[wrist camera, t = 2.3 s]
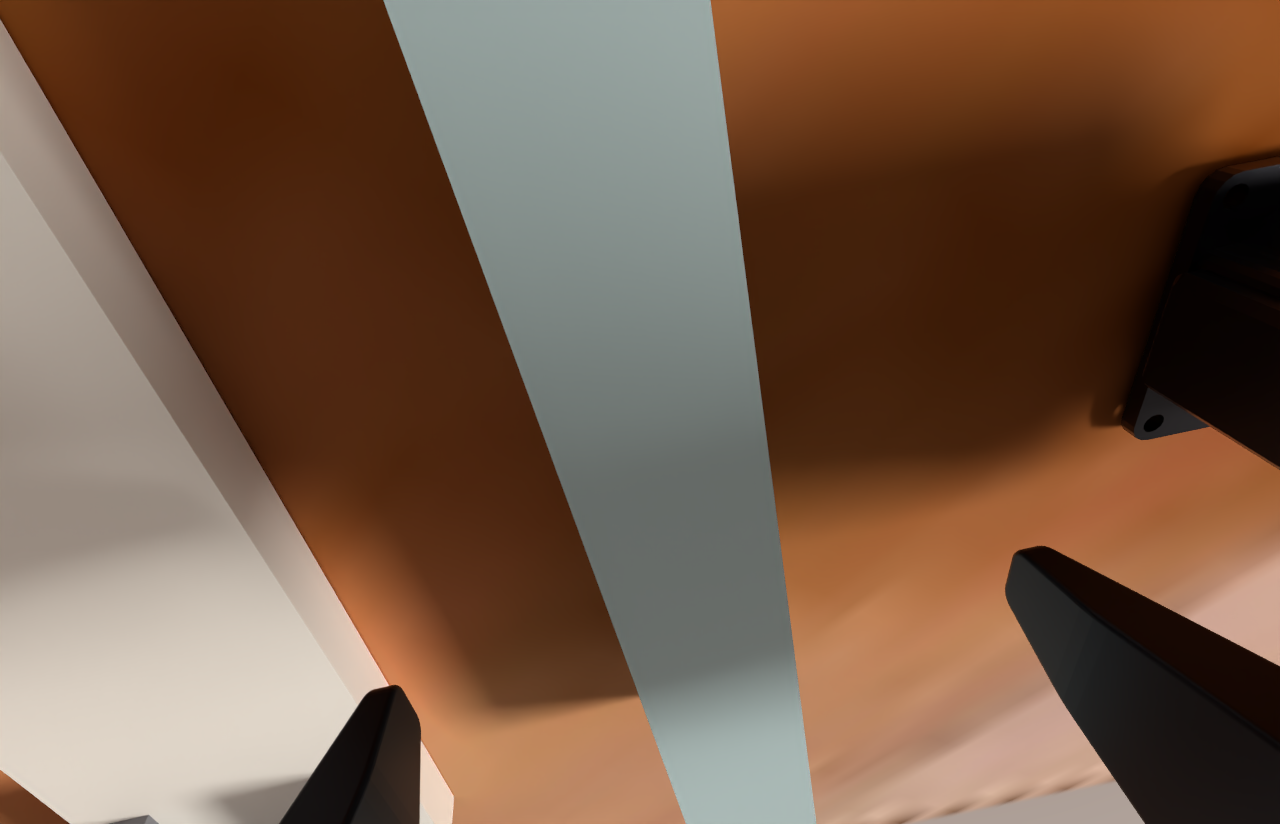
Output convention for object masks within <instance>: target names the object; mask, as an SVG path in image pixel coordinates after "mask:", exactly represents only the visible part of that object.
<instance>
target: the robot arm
mask: <svg viewBox="0 0 1280 824" xmlns="http://www.w3.org/2000/svg"><path fill="white" fill-rule="evenodd" d="M1228 191H1229V192H1228ZM1227 192H1228V193H1227ZM1226 194H1227V195H1226ZM1225 196H1226V197H1225ZM1121 425H1122V427H1123V429H1124V430H1126V431H1127V432H1129V433H1130V434H1131V435H1133V436H1134V437H1136V438H1138V439H1140V440H1149V439H1154V438H1158V437H1163V436H1168V435H1172V434H1177V433H1182V432H1187V431H1191V430H1196V429H1201V428H1206V427H1212V428H1213V429H1215V430H1217V431H1218V432H1220V433H1221V434H1223V435H1225V436H1226V437H1228V438H1229V439H1231V440H1233V441H1234V442H1236V443H1237V444H1239V445H1241V446H1242V447H1244V448H1245V449H1247V450H1249V451H1250V452H1252V453H1253V454H1255V455H1257V456H1258V457H1260V458H1261V459H1263V460H1265V461H1266V462H1268V463H1269V464H1271V465H1273V466H1274V467H1276V468H1277V469H1279V470H1280V156H1279V157H1273V158H1268V159H1263V160H1258V161H1252V162H1247V163H1242V164H1237V165H1231V166H1226V167H1224V168H1221V169H1218V170H1216V171H1215V172H1214V173H1212V174H1211V175H1210V176H1208V177H1207V178H1206V179H1205V181H1204V182H1203V183H1202V184H1201V185H1200V187H1199V189H1198V191H1197V193H1196V195H1195V197H1194V200H1193V203H1192V206H1191V209H1190V212H1189V215H1188V218H1187V221H1186V225H1185V228H1184V231H1183V234H1182V237H1181V240H1180V243H1179V246H1178V249H1177V252H1176V255H1175V258H1174V261H1173V264H1172V267H1171V270H1170V273H1169V276H1168V279H1167V282H1166V286H1165V289H1164V292H1163V295H1162V298H1161V301H1160V304H1159V307H1158V310H1157V313H1156V316H1155V319H1154V322H1153V325H1152V328H1151V331H1150V334H1149V337H1148V340H1147V343H1146V346H1145V350H1144V353H1143V356H1142V359H1141V362H1140V365H1139V368H1138V371H1137V374H1136V377H1135V380H1134V383H1133V386H1132V389H1131V392H1130V395H1129V398H1128V401H1127V404H1126V407H1125V411H1124V414H1123V417H1122V422H1121ZM1005 594H1006V598H1007V601H1008V604H1009V606H1010V608H1011V609H1012V611H1013V613H1014V615H1015V617H1016V619H1017V620H1018V622H1019V624H1020V626H1021V628H1022V630H1023V631H1024V633H1025V635H1026V637H1027V639H1028V641H1029V642H1030V644H1031V646H1032V648H1033V650H1034V652H1035V653H1036V655H1037V657H1038V659H1039V661H1040V663H1041V664H1042V666H1043V668H1044V670H1045V672H1046V674H1047V675H1048V677H1049V679H1050V681H1051V683H1052V685H1053V686H1054V688H1055V690H1056V691H1057V693H1058V695H1059V697H1060V698H1061V700H1062V702H1063V703H1064V705H1065V706H1066V708H1067V709H1068V711H1069V712H1070V714H1071V716H1072V717H1073V719H1074V720H1075V721H1076V723H1077V724H1078V726H1079V727H1080V729H1081V730H1082V732H1083V733H1084V735H1085V736H1086V738H1087V739H1088V741H1089V742H1090V744H1091V745H1092V746H1093V748H1094V749H1095V751H1096V752H1097V754H1098V755H1099V757H1100V758H1101V760H1102V761H1103V763H1104V764H1105V766H1106V767H1107V768H1108V770H1109V771H1110V773H1111V774H1112V776H1113V777H1114V779H1115V780H1116V782H1117V783H1118V785H1119V786H1120V788H1121V789H1122V790H1123V792H1124V793H1125V795H1126V796H1127V798H1128V799H1129V801H1130V802H1131V804H1132V805H1133V807H1134V808H1135V809H1136V811H1137V813H1138V814H1139V815H1140V817H1141V818H1142V820H1143V821H1144V823H1145V824H1280V666H1278V665H1276V664H1274V663H1272V662H1270V661H1268V660H1267V659H1265V658H1263V657H1261V656H1259V655H1257V654H1255V653H1253V652H1251V651H1249V650H1247V649H1245V648H1243V647H1241V646H1239V645H1237V644H1236V643H1234V642H1232V641H1230V640H1228V639H1226V638H1224V637H1222V636H1220V635H1218V634H1216V633H1214V632H1212V631H1210V630H1208V629H1207V628H1205V627H1203V626H1201V625H1199V624H1197V623H1195V622H1193V621H1191V620H1189V619H1187V618H1185V617H1183V616H1181V615H1179V614H1178V613H1176V612H1174V611H1172V610H1170V609H1168V608H1166V607H1164V606H1162V605H1160V604H1158V603H1156V602H1154V601H1152V600H1150V599H1148V598H1147V597H1145V596H1143V595H1141V594H1139V593H1137V592H1135V591H1133V590H1131V589H1129V588H1127V587H1125V586H1123V585H1121V584H1119V583H1118V582H1116V581H1114V580H1112V579H1110V578H1108V577H1106V576H1104V575H1102V574H1100V573H1098V572H1096V571H1094V570H1092V569H1090V568H1089V567H1087V566H1085V565H1083V564H1081V563H1079V562H1077V561H1075V560H1073V559H1071V558H1069V557H1067V556H1065V555H1063V554H1061V553H1060V552H1058V551H1056V550H1054V549H1052V548H1049V547H1046V546H1036V547H1031V548H1027V549H1022V550H1018V551H1017V552H1016V553H1015V554H1014V555H1013V558H1012V562H1011V566H1010V570H1009V574H1008V578H1007V582H1006V586H1005ZM420 765H421V727H420V722H419V718H418V716H417V714H416V712H415V710H414V709H413V707H412V705H411V703H410V702H409V700H408V698H407V696H406V695H405V693H404V691H403V690H402V688H401V687H399V686H398V685H391V686H386V687H382V688H377V689H373V690H371V691H369V692H368V693H367V694H366V695H365V696H364V697H363V699H362V700H361V702H360V703H359V704H358V706H357V707H356V709H355V710H354V712H353V713H352V715H351V716H350V718H349V719H348V721H347V722H346V724H345V725H344V727H343V728H342V730H341V731H340V733H339V734H338V736H337V737H336V739H335V740H334V742H333V743H332V745H331V746H330V748H329V749H328V751H327V752H326V754H325V755H324V757H323V758H322V760H321V761H320V763H319V764H318V766H317V767H316V769H315V770H314V772H313V773H312V775H311V776H310V778H309V779H308V780H307V782H306V783H305V785H304V786H303V788H302V789H301V791H300V792H299V794H298V795H297V797H296V798H295V800H294V801H293V803H292V804H291V806H290V807H289V809H288V810H287V812H286V813H285V815H284V816H283V818H282V819H281V821H280V822H279V824H420Z"/></svg>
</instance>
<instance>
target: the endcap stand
mask: <svg viewBox="0 0 1280 824" xmlns="http://www.w3.org/2000/svg"><path fill="white" fill-rule="evenodd" d="M386 686H389V685H388V683H387V681H386V680H385V678H384V676H383V674H382V673H381V671H380V669H379V668H378V666H377V664H376V662H375V661H374V659H373V657H372V656H371V654H370V652H369V650H368V649H367V647H366V645H365V644H364V642H363V640H362V638H361V637H360V635H359V633H358V632H357V630H356V628H355V626H354V625H353V623H352V621H351V620H350V618H349V616H348V614H347V613H346V611H345V609H344V608H343V606H342V604H341V602H340V601H339V599H338V597H337V596H336V594H335V592H334V590H333V589H332V587H331V585H330V584H329V582H328V580H327V578H326V577H325V575H324V573H323V572H322V570H321V568H320V566H319V565H318V563H317V561H316V560H315V558H314V556H313V554H312V553H311V551H310V549H309V548H308V546H307V544H306V542H305V541H304V539H303V537H302V536H301V534H300V532H299V530H298V529H297V527H296V525H295V524H294V522H293V520H292V518H291V517H290V515H289V513H288V512H287V510H286V508H285V506H284V505H283V503H282V501H281V500H280V498H279V496H278V494H277V493H276V491H275V489H274V488H273V486H272V484H271V482H270V481H269V479H268V477H267V476H266V474H265V472H264V470H263V469H262V467H261V465H260V464H259V462H258V460H257V458H256V457H255V455H254V453H253V452H252V450H251V448H250V446H249V445H248V443H247V441H246V440H245V438H244V436H243V434H242V433H241V431H240V429H239V428H238V426H237V424H236V422H235V421H234V419H233V417H232V416H231V414H230V412H229V410H228V409H227V407H226V405H225V404H224V402H223V400H222V398H221V397H220V395H219V393H218V392H217V390H216V388H215V386H214V385H213V383H212V381H211V380H210V378H209V376H208V374H207V373H206V371H205V369H204V368H203V366H202V364H201V362H200V361H199V359H198V357H197V356H196V354H195V352H194V350H193V349H192V347H191V345H190V344H189V342H188V340H187V338H186V337H185V335H184V333H183V332H182V330H181V328H180V326H179V325H178V323H177V321H176V320H175V318H174V316H173V314H172V313H171V311H170V309H169V308H168V306H167V304H166V302H165V301H164V299H163V297H162V296H161V294H160V292H159V290H158V289H157V287H156V285H155V284H154V282H153V280H152V278H151V277H150V275H149V273H148V272H147V270H146V268H145V266H144V265H143V263H142V261H141V260H140V258H139V256H138V254H137V253H136V251H135V249H134V248H133V246H132V244H131V242H130V241H129V239H128V237H127V236H126V234H125V232H124V231H123V229H122V227H121V225H120V224H119V222H118V220H117V219H116V217H115V215H114V213H113V212H112V210H111V208H110V207H109V205H108V203H107V201H106V200H105V198H104V196H103V195H102V193H101V191H100V189H99V188H98V186H97V184H96V183H95V181H94V179H93V177H92V176H91V174H90V172H89V171H88V169H87V167H86V165H85V164H84V162H83V160H82V159H81V157H80V155H79V153H78V152H77V150H76V148H75V147H74V145H73V143H72V141H71V140H70V138H69V136H68V135H67V133H66V131H65V129H64V128H63V126H62V124H61V123H60V121H59V119H58V117H57V116H56V114H55V112H54V111H53V109H52V107H51V105H50V104H49V102H48V100H47V99H46V97H45V95H44V93H43V92H42V90H41V88H40V87H39V85H38V83H37V81H36V80H35V78H34V76H33V75H32V73H31V71H30V69H29V68H28V66H27V64H26V63H25V61H24V59H23V57H22V56H21V54H20V52H19V51H18V49H17V47H16V45H15V44H14V42H13V40H12V39H11V37H10V35H9V33H8V32H7V30H6V28H5V27H4V25H3V23H2V21H1V20H0V770H2V771H3V772H4V773H5V774H7V775H8V776H9V777H11V778H12V779H13V780H14V781H16V782H17V783H18V784H20V785H21V786H22V787H23V788H25V789H26V790H27V791H29V792H30V793H31V794H32V795H34V796H35V797H36V798H38V799H39V800H40V801H41V802H43V803H44V804H45V805H47V806H48V807H49V808H50V809H52V810H53V811H54V812H56V813H57V814H58V815H59V816H61V817H62V818H63V819H65V820H66V821H67V822H68V823H70V824H279V822H280V821H281V819H282V818H283V816H284V815H285V813H286V812H287V810H288V809H289V807H290V806H291V804H292V803H293V801H294V800H295V798H296V797H297V795H298V794H299V792H300V791H301V789H302V788H303V786H304V785H305V783H306V782H307V780H308V779H309V778H310V776H311V775H312V773H313V772H314V770H315V769H316V767H317V766H318V764H319V763H320V761H321V760H322V758H323V757H324V755H325V754H326V752H327V751H328V749H329V748H330V746H331V745H332V743H333V742H334V740H335V739H336V737H337V736H338V734H339V733H340V731H341V730H342V728H343V727H344V725H345V724H346V722H347V721H348V719H349V718H350V716H351V715H352V713H353V712H354V710H355V709H356V707H357V706H358V704H359V703H360V702H361V700H362V699H363V697H364V696H365V695H366V694H367V693H368V692H369V691H371V690H373V689H377V688H382V687H386ZM453 805H454V796H453V794H452V793H451V791H450V789H449V787H448V786H447V784H446V782H445V781H444V779H443V777H442V775H441V774H440V772H439V770H438V769H437V767H436V765H435V763H434V762H433V760H432V758H431V757H430V755H429V753H428V751H427V750H426V748H425V746H424V745H423V743H422V741H421V765H420V824H452V817H453Z"/></svg>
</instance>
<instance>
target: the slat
mask: <svg viewBox="0 0 1280 824" xmlns="http://www.w3.org/2000/svg"><path fill="white" fill-rule="evenodd" d="M383 1H384V4H385V6H386V9H387V12H388V14H389V17H390V20H391V23H392V25H393V28H394V31H395V33H396V36H397V39H398V42H399V44H400V47H401V50H402V52H403V55H404V58H405V61H406V63H407V66H408V69H409V72H410V74H411V77H412V80H413V82H414V85H415V88H416V91H417V93H418V96H419V99H420V101H421V104H422V107H423V110H424V112H425V115H426V118H427V120H428V123H429V126H430V129H431V131H432V134H433V137H434V140H435V142H436V145H437V148H438V150H439V153H440V156H441V159H442V161H443V164H444V167H445V169H446V172H447V175H448V178H449V180H450V183H451V186H452V188H453V191H454V194H455V197H456V199H457V202H458V205H459V208H460V210H461V213H462V216H463V218H464V221H465V224H466V227H467V229H468V232H469V235H470V237H471V240H472V243H473V246H474V248H475V251H476V254H477V256H478V259H479V262H480V265H481V267H482V270H483V273H484V275H485V278H486V281H487V284H488V286H489V289H490V292H491V295H492V297H493V300H494V303H495V305H496V308H497V311H498V314H499V316H500V319H501V322H502V324H503V327H504V330H505V333H506V335H507V338H508V341H509V343H510V346H511V349H512V352H513V354H514V357H515V360H516V363H517V365H518V368H519V371H520V373H521V376H522V379H523V382H524V384H525V387H526V390H527V392H528V395H529V398H530V401H531V403H532V406H533V409H534V411H535V414H536V417H537V420H538V422H539V425H540V428H541V431H542V433H543V436H544V439H545V441H546V444H547V447H548V450H549V452H550V455H551V458H552V460H553V463H554V466H555V469H556V471H557V474H558V477H559V479H560V482H561V485H562V488H563V490H564V493H565V496H566V499H567V501H568V504H569V507H570V509H571V512H572V515H573V518H574V520H575V523H576V526H577V528H578V531H579V534H580V537H581V539H582V542H583V545H584V547H585V550H586V553H587V556H588V558H589V561H590V564H591V567H592V569H593V572H594V575H595V577H596V580H597V583H598V586H599V588H600V591H601V594H602V596H603V599H604V602H605V605H606V607H607V610H608V613H609V615H610V618H611V621H612V624H613V626H614V629H615V632H616V635H617V637H618V640H619V643H620V645H621V648H622V651H623V654H624V656H625V659H626V662H627V664H628V667H629V670H630V673H631V675H632V678H633V681H634V683H635V686H636V689H637V692H638V694H639V697H640V700H641V703H642V705H643V708H644V711H645V713H646V716H647V719H648V722H649V724H650V727H651V730H652V732H653V735H654V738H655V741H656V743H657V746H658V749H659V751H660V754H661V757H662V760H663V762H664V765H665V768H666V771H667V773H668V776H669V779H670V781H671V784H672V787H673V790H674V792H675V795H676V798H677V800H678V803H679V806H680V809H681V811H682V814H683V817H684V819H685V822H686V824H816V818H815V810H814V802H813V794H812V786H811V779H810V771H809V763H808V755H807V748H806V740H805V732H804V724H803V717H802V709H801V701H800V693H799V685H798V678H797V670H796V662H795V654H794V647H793V639H792V631H791V623H790V616H789V608H788V600H787V592H786V584H785V577H784V569H783V561H782V553H781V546H780V538H779V530H778V522H777V515H776V507H775V499H774V491H773V483H772V476H771V468H770V460H769V452H768V445H767V437H766V429H765V421H764V413H763V406H762V398H761V390H760V382H759V375H758V367H757V359H756V351H755V344H754V336H753V328H752V320H751V312H750V305H749V297H748V289H747V281H746V274H745V266H744V258H743V250H742V243H741V235H740V227H739V219H738V211H737V204H736V196H735V188H734V180H733V173H732V165H731V157H730V149H729V142H728V134H727V126H726V118H725V110H724V103H723V95H722V87H721V79H720V72H719V64H718V56H717V48H716V40H715V33H714V25H713V17H712V9H711V2H710V0H383Z"/></svg>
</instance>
